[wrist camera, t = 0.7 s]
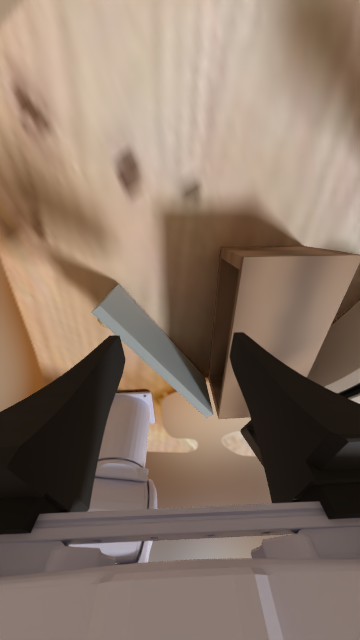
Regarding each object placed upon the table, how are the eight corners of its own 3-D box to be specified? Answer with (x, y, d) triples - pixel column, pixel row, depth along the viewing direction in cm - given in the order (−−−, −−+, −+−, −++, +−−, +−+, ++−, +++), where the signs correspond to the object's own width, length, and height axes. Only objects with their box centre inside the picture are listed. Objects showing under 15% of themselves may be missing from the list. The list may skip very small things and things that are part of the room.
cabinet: (208, 378, 27) (218, 418, 22) (220, 247, 18) (243, 257, 13) (264, 376, 28) (289, 415, 22) (304, 246, 19) (363, 255, 13)
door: (194, 383, 27) (200, 422, 22) (106, 293, 20) (82, 318, 14) (205, 378, 27) (214, 415, 21) (119, 283, 19) (99, 305, 14)
